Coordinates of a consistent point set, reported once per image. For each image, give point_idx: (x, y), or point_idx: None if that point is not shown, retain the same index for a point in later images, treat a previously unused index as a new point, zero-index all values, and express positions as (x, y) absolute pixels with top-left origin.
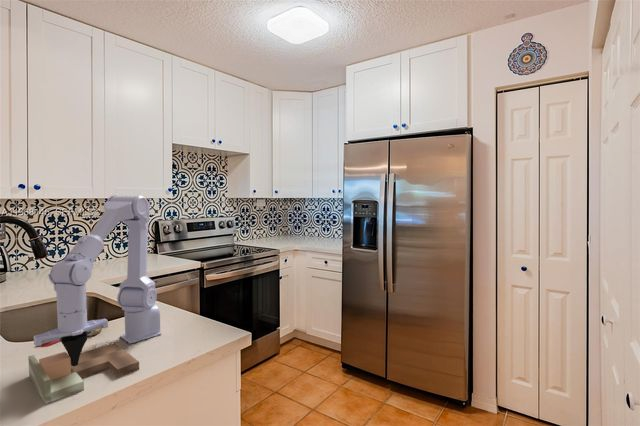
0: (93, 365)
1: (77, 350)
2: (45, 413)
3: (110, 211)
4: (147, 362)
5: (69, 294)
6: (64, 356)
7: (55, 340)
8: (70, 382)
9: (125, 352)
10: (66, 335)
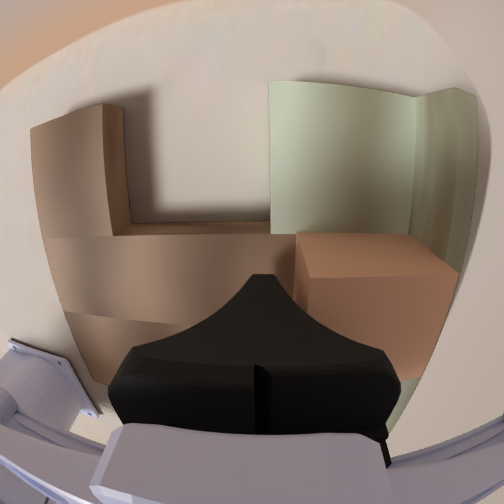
0: (179, 244)
1: (247, 315)
2: (416, 43)
3: None
4: (27, 171)
5: None
6: (332, 325)
7: None
8: (326, 123)
9: (54, 270)
10: (417, 473)
